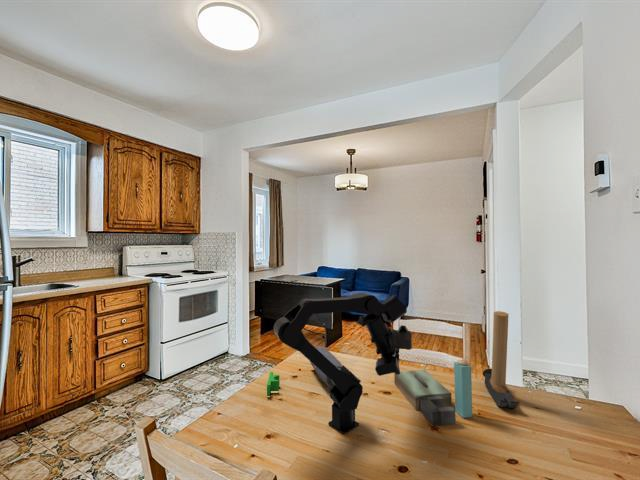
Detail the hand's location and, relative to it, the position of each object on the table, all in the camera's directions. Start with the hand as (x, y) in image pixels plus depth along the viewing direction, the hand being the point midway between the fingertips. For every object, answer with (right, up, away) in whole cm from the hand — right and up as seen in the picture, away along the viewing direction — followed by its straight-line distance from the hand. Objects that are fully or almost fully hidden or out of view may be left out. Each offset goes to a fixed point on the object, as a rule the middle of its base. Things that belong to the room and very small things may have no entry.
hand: (398, 373), depth 94 cm
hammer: (+36, -12, +8) cm, 39 cm away
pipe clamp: (-41, -13, +15) cm, 46 cm away
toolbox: (+11, -12, +6) cm, 17 cm away
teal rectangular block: (+19, -12, -2) cm, 23 cm away
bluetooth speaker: (-22, -13, +23) cm, 34 cm away
